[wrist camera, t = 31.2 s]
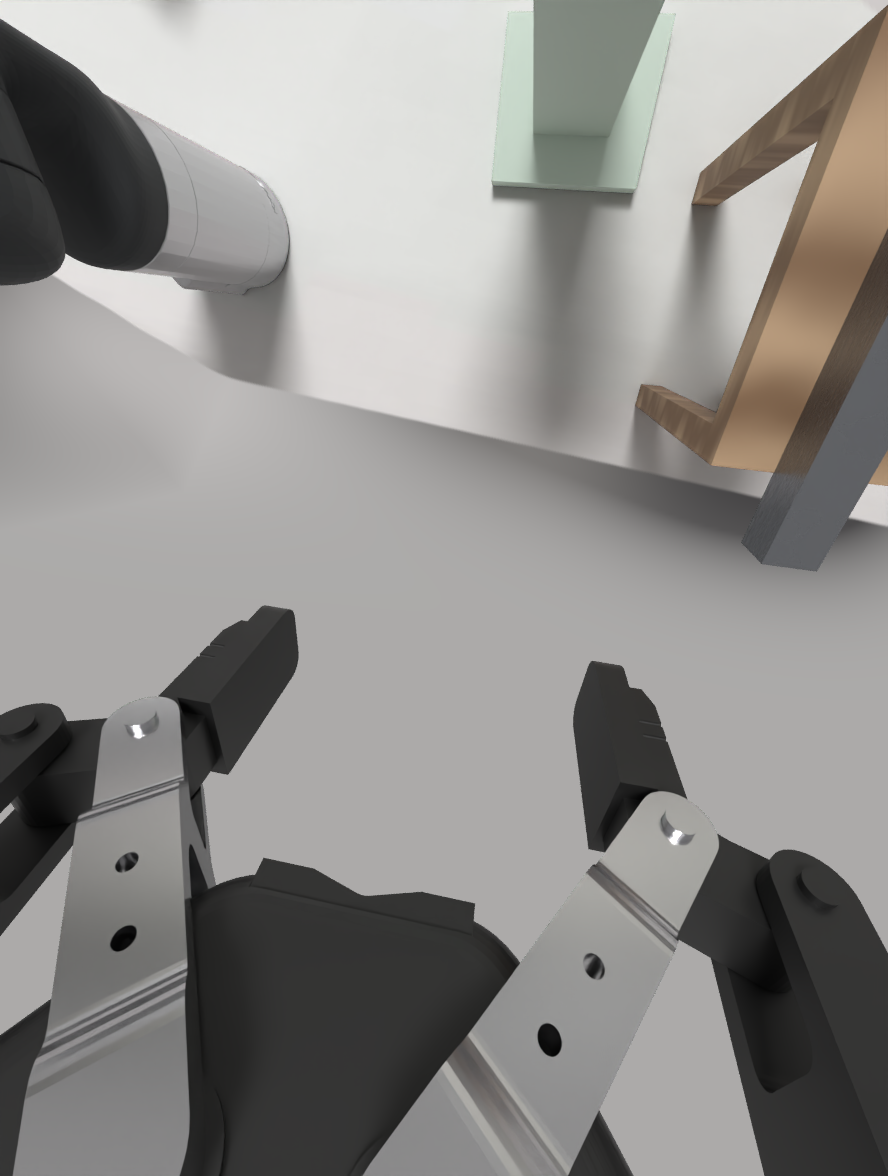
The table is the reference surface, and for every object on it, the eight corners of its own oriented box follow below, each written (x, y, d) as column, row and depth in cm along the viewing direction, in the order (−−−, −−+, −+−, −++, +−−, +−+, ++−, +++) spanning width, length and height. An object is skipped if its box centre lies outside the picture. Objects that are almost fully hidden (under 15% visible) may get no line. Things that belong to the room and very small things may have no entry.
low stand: (737, 415, 45) (893, 486, 26) (635, 405, 46) (710, 465, 27) (830, 179, 36) (1191, 5, 16) (700, 172, 37) (890, 2, 17)
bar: (791, 549, 28) (816, 571, 26) (741, 542, 29) (761, 564, 26) (1070, 26, 17) (1166, -27, 14) (982, 24, 17) (1061, -28, 15)
